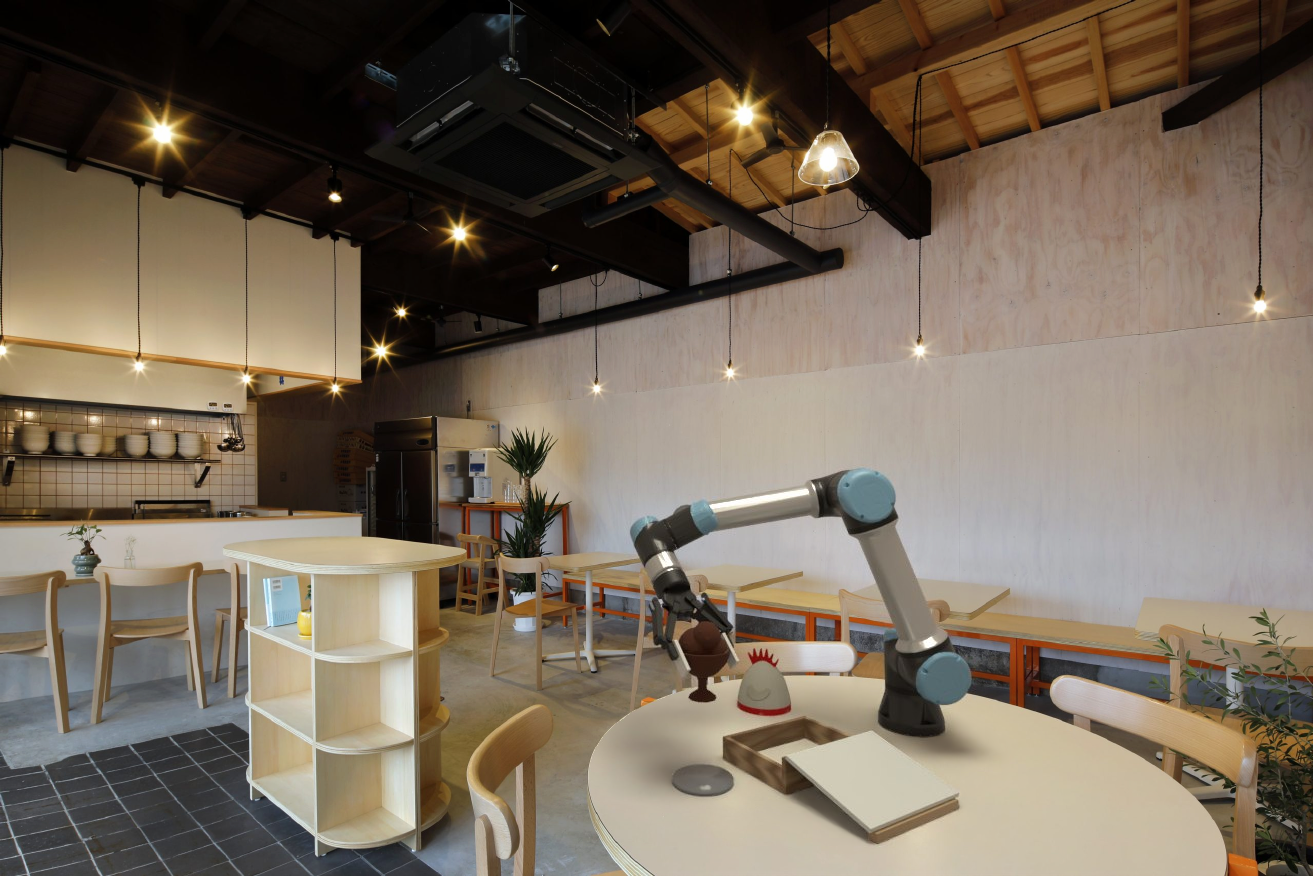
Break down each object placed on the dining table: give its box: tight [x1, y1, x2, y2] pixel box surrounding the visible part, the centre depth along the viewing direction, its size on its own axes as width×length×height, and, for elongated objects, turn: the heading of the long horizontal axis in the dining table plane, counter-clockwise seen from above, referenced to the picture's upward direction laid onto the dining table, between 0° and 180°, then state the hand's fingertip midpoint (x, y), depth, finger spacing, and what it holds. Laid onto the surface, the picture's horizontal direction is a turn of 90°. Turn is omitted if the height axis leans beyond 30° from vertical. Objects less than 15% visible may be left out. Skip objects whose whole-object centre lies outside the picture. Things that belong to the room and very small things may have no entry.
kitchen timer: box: [737, 647, 792, 717], centre depth 169 cm, size 14×14×15 cm
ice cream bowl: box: [678, 621, 731, 703], centre depth 127 cm, size 11×11×15 cm
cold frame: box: [722, 715, 853, 796], centre depth 135 cm, size 19×24×6 cm
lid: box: [785, 730, 960, 845], centre depth 118 cm, size 20×24×7 cm
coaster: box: [671, 763, 735, 797], centre depth 125 cm, size 12×12×1 cm
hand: (711, 669), depth 125 cm, fingers closed on ice cream bowl, 11 cm apart
